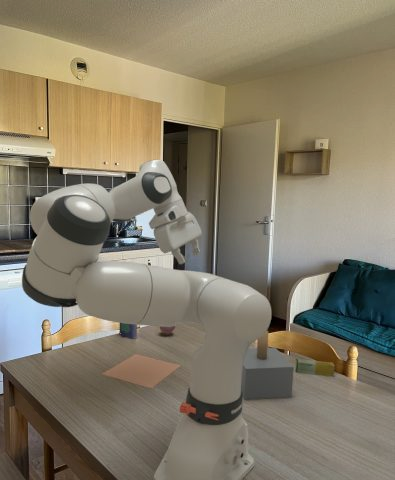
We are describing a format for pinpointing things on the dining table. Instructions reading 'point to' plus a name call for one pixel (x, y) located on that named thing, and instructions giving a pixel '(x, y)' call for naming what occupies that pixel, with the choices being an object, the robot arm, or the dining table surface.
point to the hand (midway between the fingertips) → (190, 258)
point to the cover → (266, 373)
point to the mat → (142, 370)
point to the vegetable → (167, 329)
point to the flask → (128, 330)
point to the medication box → (314, 367)
